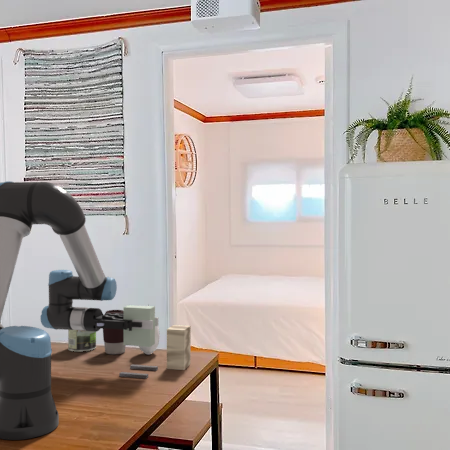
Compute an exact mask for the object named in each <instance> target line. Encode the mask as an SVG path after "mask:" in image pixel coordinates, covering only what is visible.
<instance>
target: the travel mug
mask: <svg viewBox="0 0 450 450" xmlns="http://www.w3.org/2000/svg"><path fill="white" fill-rule="evenodd" d="M106 313H111V314H113V313H119V314H124V309H110V310H106V311H105V312H104V315H106ZM102 336H103V337H102V338H103V339H102V340H103V342H104V353H106V354H108V355H120V354H124V353H125V351H126V346H127V345H124V329H106V328H102Z"/></svg>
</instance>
